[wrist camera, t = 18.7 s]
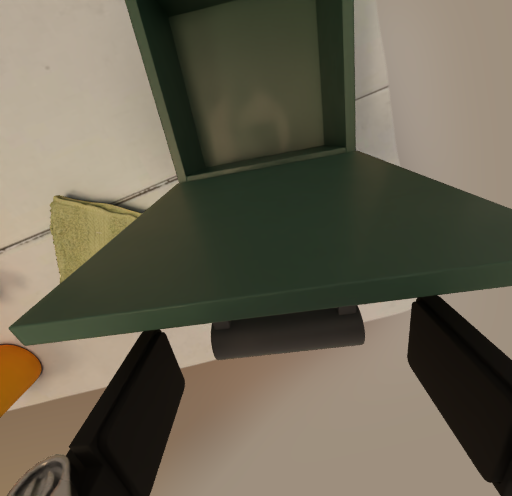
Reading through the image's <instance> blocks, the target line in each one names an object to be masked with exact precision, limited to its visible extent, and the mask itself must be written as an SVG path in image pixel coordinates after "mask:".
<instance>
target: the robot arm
mask: <svg viewBox="0 0 512 496" xmlns="http://www.w3.org/2000/svg"><path fill="white" fill-rule="evenodd" d="M407 358H408V362H409V365H410V367H411V368H412V370H413V372H414V373H415V375H416V376H417V378H418V379H419V381H420V382H421V384H422V385H423V387H424V388H425V390H426V392H427V393H428V395H429V396H430V398H431V399H432V401H433V402H434V404H435V405H436V407H437V408H438V410H439V412H440V413H441V415H442V416H443V418H444V419H445V421H446V422H447V424H448V425H449V427H450V428H451V430H452V431H453V433H454V435H455V436H456V438H457V439H458V441H459V442H460V444H461V445H462V447H463V448H464V450H465V451H466V453H467V455H468V456H469V458H470V459H471V460H472V462H473V464H474V465H475V467H476V468H477V470H478V471H479V473H480V474H481V475H482V477H483V478H484V479H485V480H486V481H487V482H490V483H491V482H492V483H493V485H494V486H495V488H496V489H497V491H498V492H499V494H500V495H501V496H512V360H511V359H510V358H509V357H508V356H506V355H505V354H504V353H503V352H502V351H501V350H500V349H498V348H497V347H496V346H495V345H494V344H493V343H492V342H490V341H489V340H488V339H487V338H486V337H485V336H484V335H482V334H481V333H480V332H479V331H478V330H477V329H476V328H475V327H473V326H472V325H471V324H470V323H469V322H468V321H467V320H466V319H464V318H463V317H462V316H461V315H460V314H459V313H458V312H456V311H455V310H454V309H453V308H452V307H451V306H450V305H448V304H447V303H446V302H445V301H444V300H443V299H442V298H441V297H439V296H438V295H434V296H426V297H418V298H417V299H416V302H413V303H412V309H411V321H410V332H409V343H408V355H407ZM184 387H185V380H184V377H183V375H182V372H181V370H180V367H179V365H178V363H177V360H176V358H175V355H174V353H173V351H172V348H171V346H170V343H169V341H168V338H167V336H166V334H165V333H164V332H161V330H160V329H158V330H150V331H143V332H142V333H141V335H140V336H139V338H138V340H137V341H136V343H135V344H134V346H133V347H132V349H131V350H130V352H129V354H128V355H127V357H126V358H125V360H124V361H123V363H122V365H121V366H120V368H119V369H118V371H117V372H116V374H115V375H114V377H113V379H112V380H111V382H110V383H109V385H108V386H107V388H106V389H105V391H104V393H103V394H102V396H101V397H100V399H99V401H98V402H97V404H96V405H95V407H94V408H93V410H92V411H91V413H90V414H89V416H88V418H87V419H86V421H85V422H84V424H83V425H82V427H81V429H80V430H79V432H78V433H77V435H76V436H75V438H74V439H73V441H72V442H71V444H70V446H69V448H70V450H69V452H68V453H67V455H66V456H64V455H58V454H56V455H54V456H50V457H47V458H46V459H44V460H42V461H40V462H38V463H37V464H36V465H35V466H33V467H32V468H31V469H29V470H28V471H27V472H26V473H25V474H24V475H23V476H22V477H21V478H20V479H19V480H18V481H17V482H16V484H15V485H14V486H13V488H12V489H11V490H10V491H9V493H8V495H7V496H149V495H150V493H151V490H152V487H153V484H154V481H155V478H156V475H157V471H158V468H159V465H160V462H161V459H162V456H163V453H164V450H165V447H166V443H167V441H168V437H169V434H170V431H171V428H172V425H173V422H174V419H175V416H176V413H177V409H178V407H179V403H180V400H181V397H182V394H183V391H184Z"/></svg>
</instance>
